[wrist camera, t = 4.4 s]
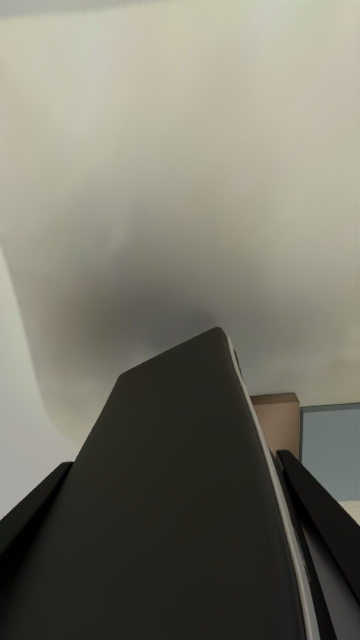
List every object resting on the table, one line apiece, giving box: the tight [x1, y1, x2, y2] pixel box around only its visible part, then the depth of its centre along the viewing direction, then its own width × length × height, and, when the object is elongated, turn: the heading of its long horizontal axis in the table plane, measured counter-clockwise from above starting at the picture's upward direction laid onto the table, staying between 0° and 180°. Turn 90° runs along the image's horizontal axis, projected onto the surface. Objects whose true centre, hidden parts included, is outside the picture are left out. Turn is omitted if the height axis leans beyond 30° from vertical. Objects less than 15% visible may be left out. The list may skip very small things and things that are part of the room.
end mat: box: [299, 403, 360, 501], centre depth 21 cm, size 9×11×1 cm
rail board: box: [250, 393, 300, 459], centre depth 21 cm, size 11×10×1 cm
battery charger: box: [0, 327, 337, 640], centre depth 9 cm, size 7×4×11 cm, turn 121°
